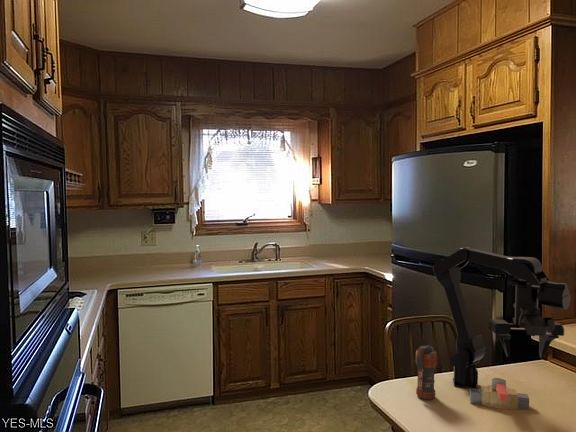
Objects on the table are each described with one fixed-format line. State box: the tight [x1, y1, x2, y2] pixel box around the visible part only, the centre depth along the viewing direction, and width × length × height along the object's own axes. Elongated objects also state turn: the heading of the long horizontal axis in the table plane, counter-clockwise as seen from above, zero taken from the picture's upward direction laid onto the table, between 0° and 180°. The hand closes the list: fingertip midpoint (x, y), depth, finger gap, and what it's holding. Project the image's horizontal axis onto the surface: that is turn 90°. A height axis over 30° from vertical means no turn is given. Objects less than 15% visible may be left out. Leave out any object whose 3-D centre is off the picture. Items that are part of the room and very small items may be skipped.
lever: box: [491, 377, 508, 401], centre depth 131 cm, size 11×4×2 cm, turn 164°
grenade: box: [415, 345, 438, 401], centre depth 139 cm, size 6×8×15 cm
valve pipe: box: [469, 384, 530, 411], centre depth 135 cm, size 15×5×4 cm, turn 74°
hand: (524, 357), depth 136 cm, fingers open, 9 cm apart
